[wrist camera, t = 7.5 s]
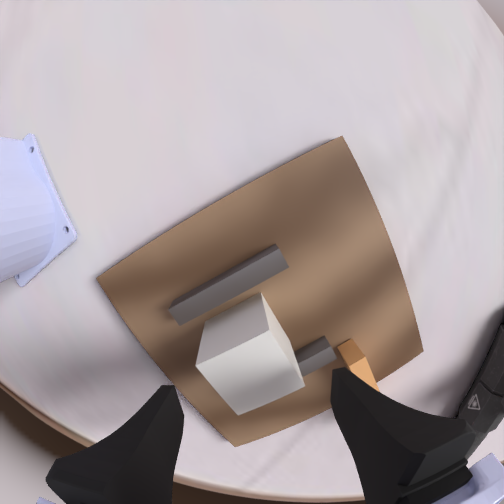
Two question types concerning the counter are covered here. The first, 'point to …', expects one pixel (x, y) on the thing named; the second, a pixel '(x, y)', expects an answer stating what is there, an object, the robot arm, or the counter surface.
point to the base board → (274, 285)
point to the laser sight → (486, 394)
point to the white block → (248, 356)
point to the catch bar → (357, 362)
